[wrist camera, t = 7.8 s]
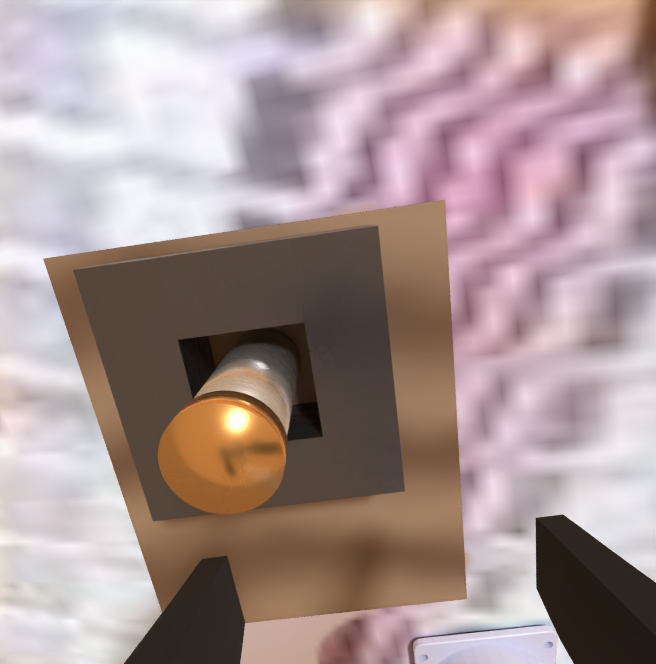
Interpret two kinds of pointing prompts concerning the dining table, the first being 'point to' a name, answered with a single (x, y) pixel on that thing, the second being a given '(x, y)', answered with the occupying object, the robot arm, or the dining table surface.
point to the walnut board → (410, 391)
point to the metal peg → (235, 427)
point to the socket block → (247, 314)
